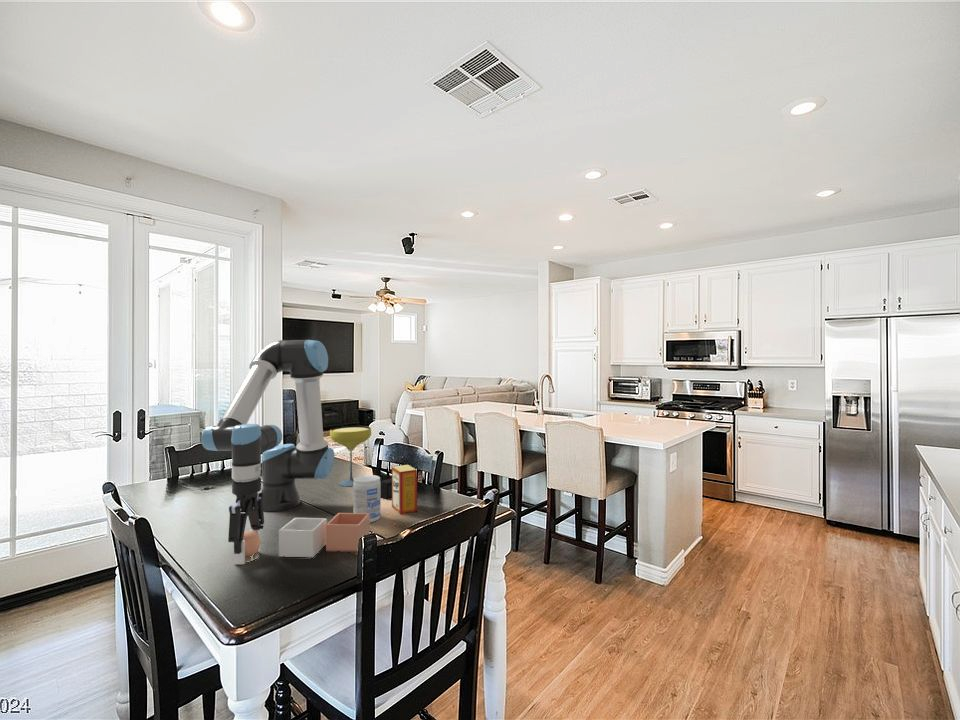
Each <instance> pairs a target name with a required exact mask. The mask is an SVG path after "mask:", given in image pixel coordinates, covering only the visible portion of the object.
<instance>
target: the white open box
mask: <svg viewBox="0 0 960 720" xmlns="http://www.w3.org/2000/svg"><path fill="white" fill-rule="evenodd" d="M327 523H328V518H327V517H326V518H323V517H321V518H320V517H293V519H292V520H290V521H289V522H288V523H286V524H285V525H284V526H283V527H281V528H280V529H278V557H279V556H281V557H282V556H285V557H312V558H313V557H314V556H315V555H316V554H317V553H318V554H319V553H320V552H321V551H322V550H323V549H324V548H323V547H324V546H325V545H326V524H327ZM325 547H326V546H325ZM322 548H323V549H322ZM321 549H322V550H321ZM320 550H321V551H320ZM319 551H320V552H319ZM318 554H317V555H318ZM317 555H316V556H317ZM316 556H315V557H316ZM315 557H314V558H315ZM314 558H313V559H314Z"/></svg>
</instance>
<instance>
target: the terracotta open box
mask: <svg viewBox="0 0 960 720" xmlns="http://www.w3.org/2000/svg"><path fill="white" fill-rule="evenodd" d="M370 523H371V522H370V513H353V512H338V513H336V514H335V515H334V516H333V517H332V518H331V520H329V521H327V524H326V546H325V551H326V552H337V551H340V553H341V552H342V553H347V552H349V553H358V552H357V548H358V542H359V539H360V538H361V537H362V536H364V535H366V534H371V526H370V525H371V524H370Z"/></svg>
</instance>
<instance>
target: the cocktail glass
mask: <svg viewBox="0 0 960 720" xmlns="http://www.w3.org/2000/svg"><path fill="white" fill-rule="evenodd" d="M371 435H372V428H371V427H370V426H367V425H345V426H336V427H333V428H330V430H329V437H330V439H331V440H332V441H334V442H335V443H337V444H338V445H341V446H343V447H345V448H346V449H347V450H348V452H349V453H350V456H349V457H350V464H349V465H350V466H349V467H350V468H349V469H350V470H349V479H346V480H342V481H340V482H339V483H338V485H339V486H340V487H344V486H347V487H346V488H349V487H350V486H353V483H354V478H353V460H352V459H353V458H352V457H353V454H352V453H353V451H354V450H355V448H356V447H357V446H359V445H361V444H362V443H364V442H366V441H367V440H368V439H370V438H371ZM350 488H351V487H350Z"/></svg>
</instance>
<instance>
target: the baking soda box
mask: <svg viewBox="0 0 960 720" xmlns="http://www.w3.org/2000/svg"><path fill="white" fill-rule="evenodd" d="M391 478H392V499H391V508H393V509H394V510H395V511H396V512H397V511H398V512H399V513H400V515H404V514H403V513H406V514H408V513H407V512H411V513H413V512H412V511H416V510H417V511H418V470H417V469H416V468H415V467H412V465H409V464H402V465H401V464H400V465H395V466H391ZM398 512H397V513H398ZM399 513H398V514H399Z"/></svg>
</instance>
